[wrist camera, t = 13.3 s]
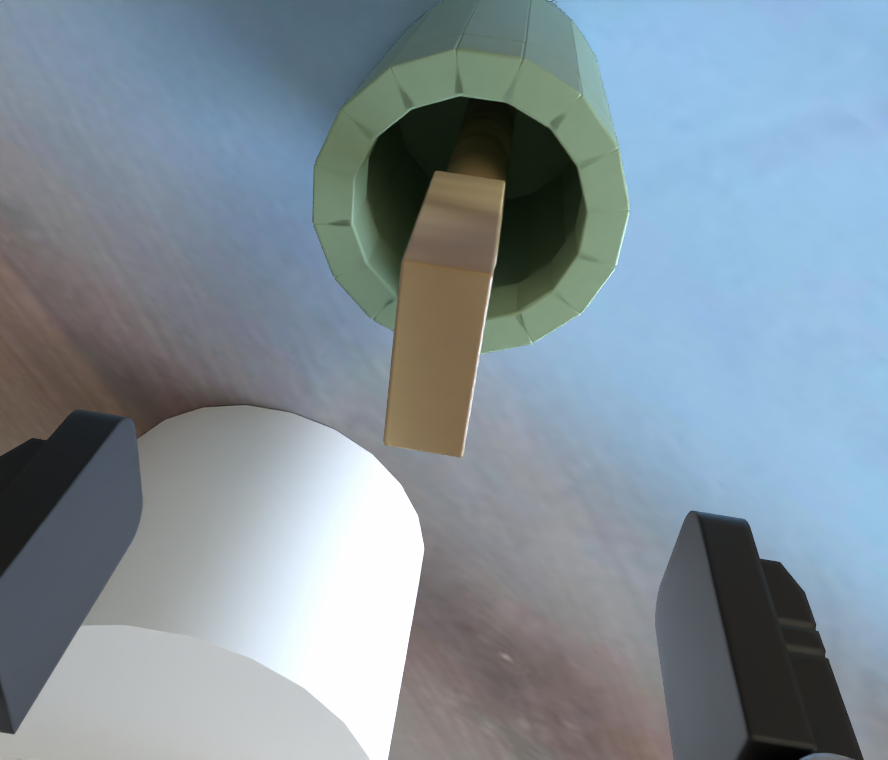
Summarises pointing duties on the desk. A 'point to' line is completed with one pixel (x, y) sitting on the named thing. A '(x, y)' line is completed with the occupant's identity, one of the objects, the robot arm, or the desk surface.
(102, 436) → the robot arm
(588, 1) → the desk surface
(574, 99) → the jar
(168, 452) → the cylinder
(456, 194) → the wooden paddle
